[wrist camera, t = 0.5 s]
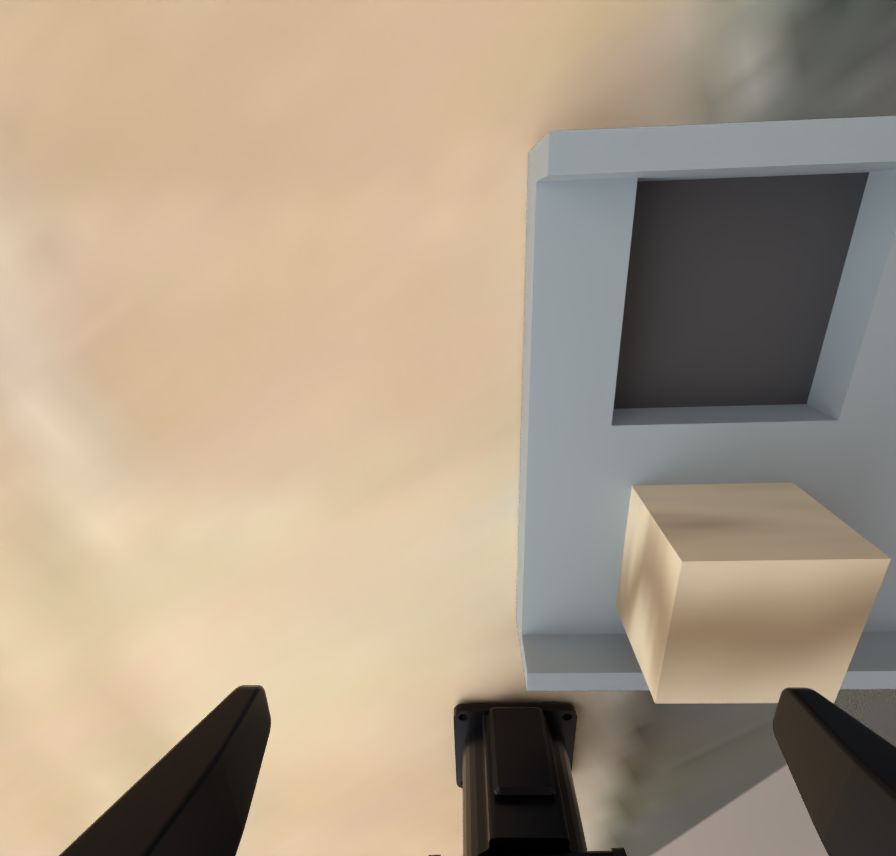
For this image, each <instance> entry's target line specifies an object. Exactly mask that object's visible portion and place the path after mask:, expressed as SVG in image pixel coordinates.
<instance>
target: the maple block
mask: <svg viewBox="0 0 896 856" xmlns="http://www.w3.org/2000/svg"><path fill="white" fill-rule="evenodd" d="M890 560H891V558H890V557H888V556H887V555H886V554H885V553H883V552H882V551H881V550H879V549H878V548H877V547H875V546H874V545H873V544H872V543H870V542H869V541H868V540H866V539H865V538H864V537H863V536H861V535H860V534H859V533H857V532H856V531H855V530H853V529H852V528H851V527H850V526H848V525H847V524H846V523H844V522H843V521H842V520H841V519H839V518H838V517H837V516H835V515H834V514H833V513H831V512H830V511H829V510H828V509H826V508H825V507H824V506H822V505H821V504H820V503H819V502H817V501H816V500H815V499H813V498H812V497H811V496H809V495H808V494H807V493H806V492H804V491H803V490H802V489H800V488H799V487H798V486H797V485H795V484H794V483H793V482H792V483H740V484H688V485H636V486H632V487H631V495H630V503H629V510H628V518H627V526H626V534H625V541H624V549H623V557H622V564H621V572H620V580H619V588H618V595H617V603H616V609H617V612H618V614H619V616H620V619H621V621H622V624H623V626H624V629H625V631H626V634H627V636H628V638H629V641H630V643H631V646H632V648H633V651H634V653H635V656H636V658H637V661H638V663H639V665H640V668H641V670H642V673H643V675H644V678H645V680H646V683H647V685H648V687H649V690H650V692H651V695H652V697H653V700H654V702H655V704H671V703H778V702H779V698H780V695H781V692H782V691H783V690H784V689H785V688H788V687H804V688H810V689H813V690H814V691H816V692H818V693H819V694H821V695H822V696H823V697H825V698H826V699H828V700H829V701H831V702H832V703H834V702H835V700H836V697H837V694H838V692H839V689H840V687H841V684H842V682H843V679H844V677H845V674H846V672H847V669H848V667H849V664H850V662H851V659H852V657H853V654H854V651H855V649H856V646H857V644H858V641H859V639H860V636H861V634H862V631H863V629H864V626H865V624H866V621H867V619H868V616H869V614H870V611H871V608H872V606H873V603H874V601H875V598H876V596H877V593H878V591H879V588H880V586H881V583H882V581H883V578H884V576H885V573H886V571H887V568H888V565H889V563H890Z"/></svg>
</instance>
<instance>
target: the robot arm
mask: <svg viewBox="0 0 896 856" xmlns="http://www.w3.org/2000/svg"><path fill="white" fill-rule="evenodd" d="M576 721H577V715H576V711H575V707H574V706H573V705H571V704H460V705H457V706H456V707H455V708H454V735H455V757H456V780H457V785H458V786H459V787H461V788H463V856H627V855H626V852H625V850H624V848H623V847H622V848H611V851H587V847H586V842H585V837H584V832H583V827H582V822H581V817H580V812H579V807H578V803H577V798H576V793H575V788H574V783H573V778H572V773H571V771H572V761H573V751H574V741H575V731H576ZM270 727H271V717H270V712H269V708H268V703H267V698H266V694H265V690H264V688H263V687H262V686H260V685H242V686H239V687H238V688H236V689H235V690H234V691H233V692H232V693H230V694H229V695H228V696H227V697H226V698H225V699H224V700H223V701H222V702H221V703H220V704H219V705H218V706H217V707H216V708H215V709H214V710H212V711H211V712H210V713H209V714H208V715H207V716H206V717H205V718H204V719H203V720H202V721H201V722H200V723H199V724H198V725H197V726H196V727H195V728H193V729H192V730H191V731H190V732H189V733H188V734H187V735H186V736H185V737H184V738H183V739H182V740H181V741H180V742H179V743H178V744H177V745H175V746H174V747H173V748H172V749H171V750H170V751H169V752H168V753H167V754H166V755H165V756H164V757H163V758H162V759H161V760H160V761H159V762H158V763H156V764H155V765H154V766H153V767H152V768H151V769H150V770H149V771H148V772H147V773H146V774H145V775H144V776H143V777H142V778H141V779H140V780H138V781H137V782H136V783H135V784H134V785H133V786H132V787H131V788H130V789H129V790H128V791H127V792H126V793H125V794H124V795H123V796H122V797H120V798H119V799H118V800H117V801H116V802H115V803H114V804H113V805H112V806H111V807H110V808H109V809H108V810H107V811H106V812H105V813H104V814H103V815H101V816H100V817H99V818H98V819H97V820H96V821H95V822H94V823H93V824H92V825H91V826H90V827H89V828H88V829H87V830H86V831H85V832H83V833H82V834H81V835H80V836H79V837H78V838H77V839H76V840H75V841H74V842H73V843H72V844H71V845H70V846H69V847H68V848H67V849H66V850H64V851H63V852H62V853H61V854H60V855H59V856H235V855H236V852H237V849H238V846H239V843H240V840H241V837H242V834H243V831H244V828H245V824H246V820H247V817H248V813H249V809H250V806H251V802H252V798H253V794H254V790H255V787H256V783H257V779H258V775H259V771H260V768H261V764H262V760H263V756H264V752H265V749H266V745H267V741H268V737H269V733H270ZM773 730H774V734H775V737H776V740H777V742H778V744H779V746H780V749H781V751H782V753H783V756H784V758H785V760H786V762H787V765H788V767H789V769H790V771H791V774H792V776H793V778H794V781H795V783H796V785H797V787H798V790H799V792H800V794H801V796H802V799H803V801H804V803H805V806H806V808H807V810H808V813H809V815H810V817H811V819H812V822H813V824H814V826H815V828H816V830H817V832H818V834H819V837H820V839H821V841H822V843H823V845H824V847H825V849H826V851H827V853H828V855H829V856H896V747H895V746H893V745H892V744H890V743H889V742H887V741H886V740H885V739H883V738H882V737H880V736H879V735H877V734H876V733H875V732H873V731H872V730H870V729H869V728H868V727H866V726H865V725H863V724H862V723H860V722H859V721H858V720H856V719H855V718H853V717H852V716H850V715H849V714H848V713H846V712H845V711H843V710H842V709H841V708H839V707H838V706H836V705H835V704H833V703H832V702H831V701H829V700H828V699H826V698H825V697H823V696H822V695H821V694H819V693H818V692H816V691H814V690H813V689H810V688H804V687H788V688H785V689H784V690H783V691H782V692H781V695H780V698H779V702H778V705H777V708H776V712H775V715H774V718H773ZM429 856H441V855H429Z"/></svg>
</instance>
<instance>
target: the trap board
mask: <svg viewBox="0 0 896 856" xmlns="http://www.w3.org/2000/svg"><path fill="white" fill-rule="evenodd" d="M792 482H793V483H794V484H795V485H797V486H798V487H799V488H800V489H802V490H803V491H804V492H806V493H807V494H808V495H809V496H811V497H812V498H813V499H815V500H816V501H817V502H819V503H820V504H821V505H822V506H824V507H825V508H826V509H828V510H829V511H830V512H831V513H833V514H834V515H835V516H837V517H838V518H839V519H841V520H842V521H843V522H844V523H846V524H847V525H848V526H850V527H851V528H852V529H853V530H855V531H856V532H857V533H859V534H860V535H861V536H863V537H864V538H865V539H866V540H868V541H869V542H870V543H872V544H873V545H874V546H875V547H877V548H878V549H879V550H881V551H882V552H883V553H885V554H886V555H887V556H888V557H890V558H891V560H890V563H889V565H888V568H887V571H886V573H885V576H884V578H883V581H882V583H881V586H880V588H879V591H878V593H877V596H876V598H875V601H874V603H873V606H872V608H871V611H870V614H869V616H868V619H867V621H866V624H865V626H864V629H863V631H862V634H861V636H860V639H859V641H858V644H857V646H856V649H855V651H854V654H853V657H852V659H851V662H850V664H849V667H848V669H847V672H846V674H845V677H844V679H843V682H842V684H841V687H840V689H896V116H880V117H857V118H834V119H811V120H788V121H766V122H743V123H720V124H697V125H674V126H652V127H629V128H606V129H583V130H560V131H549V132H548V133H547V134H546V135H545V136H544V137H543V138H542V139H541V140H540V141H539V142H538V143H537V144H536V146H535V147H534V148H533V149H532V150H531V151H530V152H529V155H528V193H527V231H526V268H525V306H524V344H523V382H522V419H521V457H520V495H519V532H518V570H517V608H516V620H517V627H518V634H519V641H520V648H521V655H522V662H523V669H524V675H525V682H526V689H527V691H603V690H649V687H648V685H647V683H646V680H645V678H644V675H643V673H642V670H641V668H640V665H639V663H638V661H637V658H636V656H635V653H634V651H633V648H632V646H631V643H630V641H629V638H628V636H627V634H626V631H625V629H624V626H623V624H622V621H621V619H620V616H619V614H618V612H617V609H616V603H617V595H618V588H619V580H620V572H621V564H622V557H623V549H624V541H625V534H626V526H627V518H628V510H629V503H630V495H631V487H632V486H636V485H688V484H740V483H792Z"/></svg>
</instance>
